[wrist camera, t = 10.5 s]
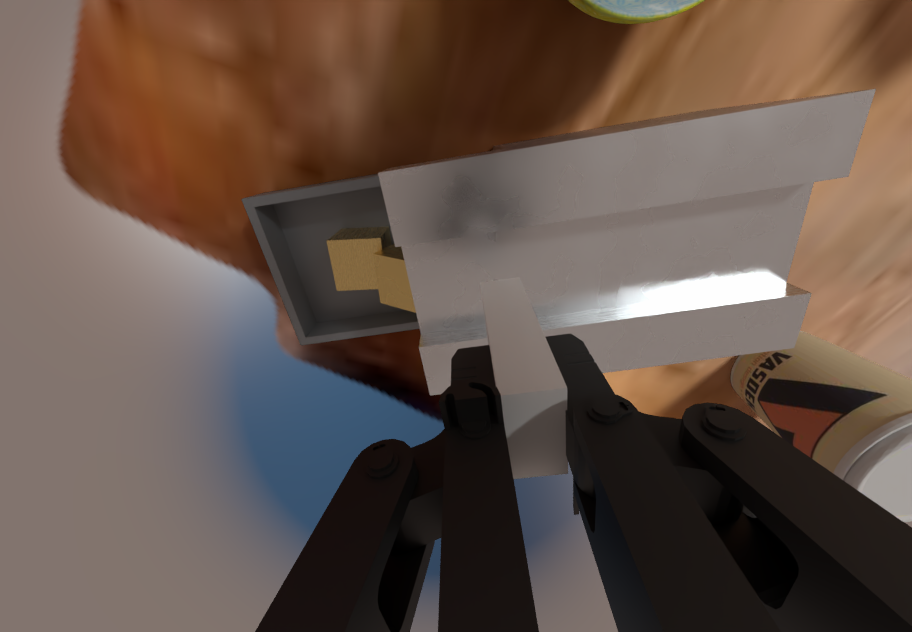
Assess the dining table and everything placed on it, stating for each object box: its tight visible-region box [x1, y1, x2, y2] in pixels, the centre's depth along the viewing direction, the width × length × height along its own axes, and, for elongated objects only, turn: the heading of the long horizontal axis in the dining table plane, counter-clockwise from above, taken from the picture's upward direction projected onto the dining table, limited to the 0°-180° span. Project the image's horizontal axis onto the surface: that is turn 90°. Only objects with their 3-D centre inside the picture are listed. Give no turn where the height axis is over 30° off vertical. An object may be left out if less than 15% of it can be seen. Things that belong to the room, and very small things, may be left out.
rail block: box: [378, 89, 876, 395], centre depth 22 cm, size 12×20×10 cm, turn 99°
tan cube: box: [373, 244, 416, 313], centre depth 24 cm, size 4×4×4 cm
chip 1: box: [326, 226, 391, 291], centre depth 25 cm, size 4×4×4 cm
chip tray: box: [242, 174, 420, 345], centre depth 26 cm, size 11×12×3 cm
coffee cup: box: [730, 331, 912, 522], centre depth 27 cm, size 9×9×12 cm
